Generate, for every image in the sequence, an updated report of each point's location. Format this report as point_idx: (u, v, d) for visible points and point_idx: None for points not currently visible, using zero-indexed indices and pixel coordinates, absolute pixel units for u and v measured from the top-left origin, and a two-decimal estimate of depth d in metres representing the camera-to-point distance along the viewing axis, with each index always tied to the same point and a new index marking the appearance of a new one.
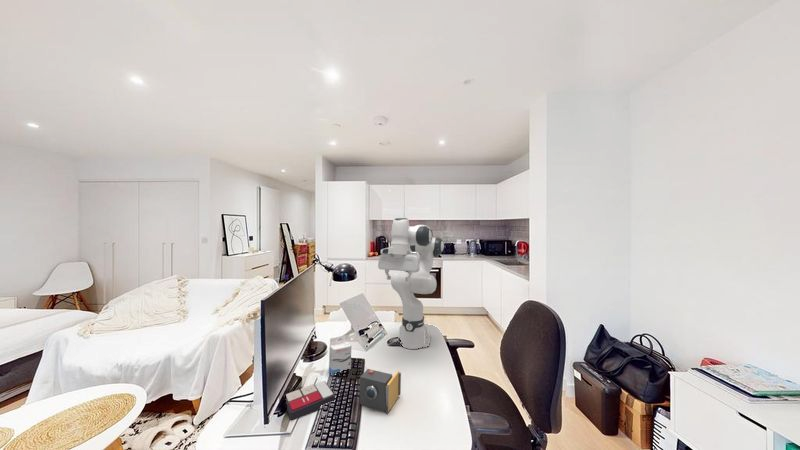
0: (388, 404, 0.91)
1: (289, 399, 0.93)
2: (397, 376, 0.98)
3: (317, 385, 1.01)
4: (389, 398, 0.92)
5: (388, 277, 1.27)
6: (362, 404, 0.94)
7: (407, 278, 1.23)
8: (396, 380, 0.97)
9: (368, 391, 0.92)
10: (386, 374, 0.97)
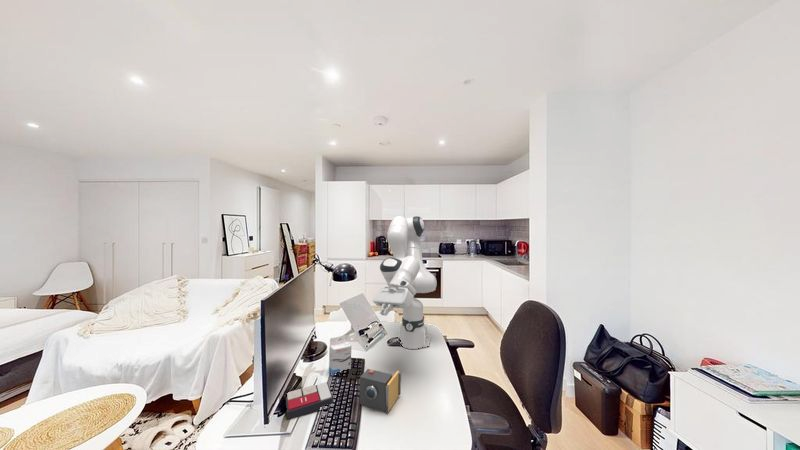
0: (388, 404, 0.91)
1: (289, 398, 0.93)
2: (397, 376, 0.98)
3: (319, 385, 1.00)
4: (389, 398, 0.92)
5: None
6: (362, 404, 0.94)
7: None
8: (396, 380, 0.97)
9: (368, 391, 0.92)
10: (386, 374, 0.97)
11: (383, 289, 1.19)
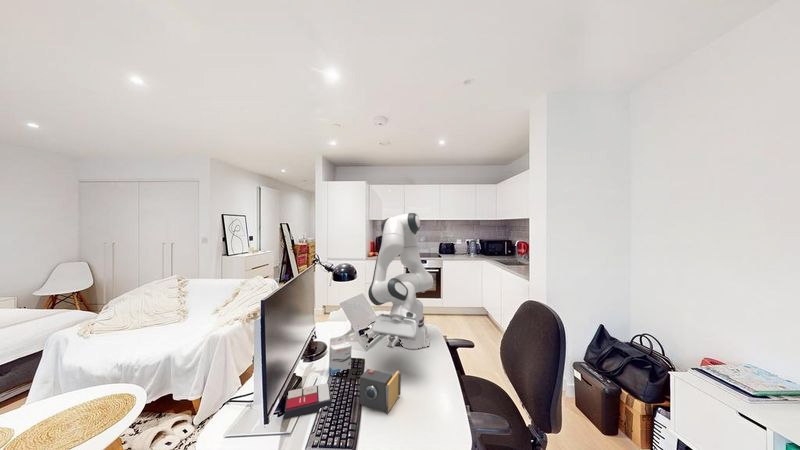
0: (388, 404, 0.91)
1: (289, 397, 0.94)
2: (397, 376, 0.98)
3: (320, 386, 1.00)
4: (389, 398, 0.92)
5: None
6: (362, 404, 0.94)
7: None
8: (396, 380, 0.97)
9: (368, 391, 0.92)
10: (386, 374, 0.97)
11: (382, 317, 1.18)
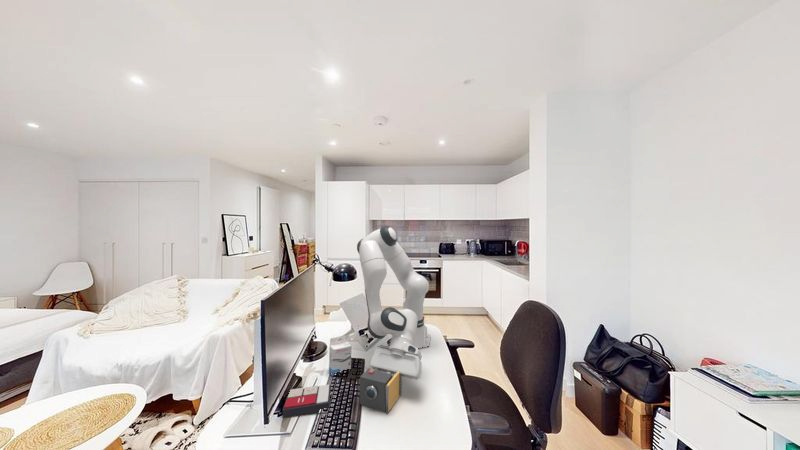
0: (388, 404, 0.91)
1: (289, 395, 0.95)
2: (398, 376, 0.98)
3: (321, 387, 0.99)
4: (389, 398, 0.92)
5: None
6: (362, 404, 0.94)
7: None
8: (396, 380, 0.97)
9: (368, 391, 0.92)
10: (386, 374, 0.97)
11: (381, 350, 1.07)
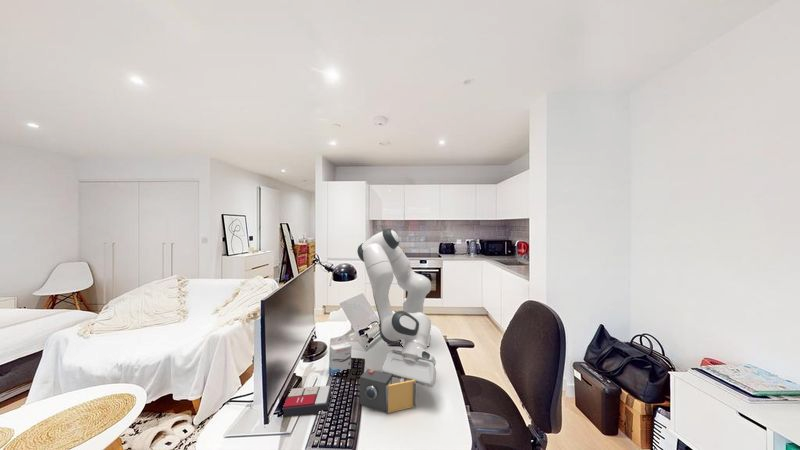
0: (388, 405, 0.90)
1: (289, 395, 0.95)
2: (410, 384, 0.93)
3: (321, 388, 0.99)
4: (390, 400, 0.91)
5: None
6: (362, 404, 0.94)
7: None
8: (407, 388, 0.93)
9: (368, 391, 0.92)
10: (386, 374, 0.97)
11: (393, 355, 1.03)
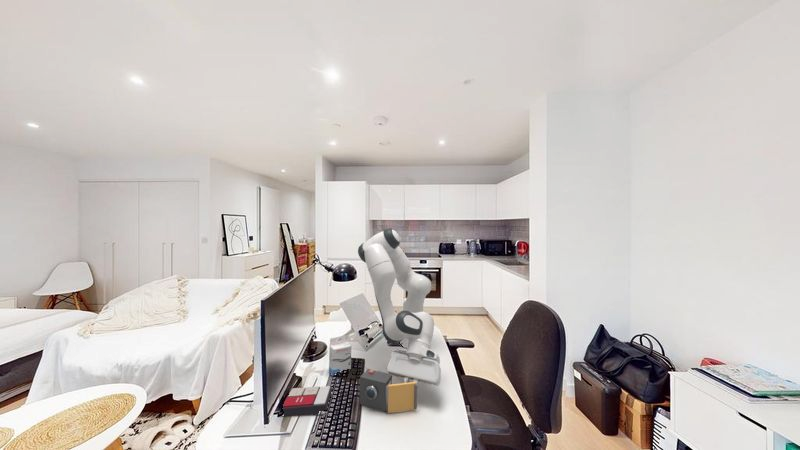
0: (388, 405, 0.90)
1: (289, 394, 0.95)
2: (411, 386, 0.92)
3: (321, 388, 0.98)
4: (390, 400, 0.90)
5: None
6: (362, 404, 0.94)
7: None
8: (408, 390, 0.92)
9: (368, 391, 0.92)
10: (386, 374, 0.97)
11: (398, 355, 1.03)
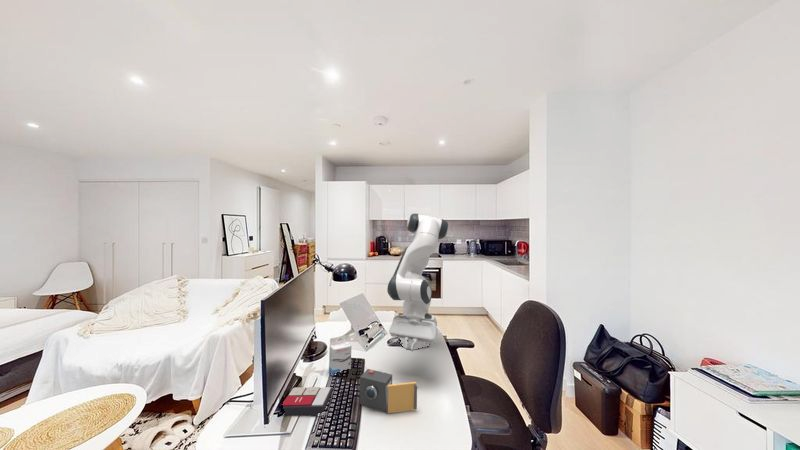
0: (388, 405, 0.90)
1: (290, 393, 0.96)
2: (411, 386, 0.92)
3: (322, 389, 0.98)
4: (390, 400, 0.90)
5: None
6: (362, 404, 0.94)
7: None
8: (408, 390, 0.92)
9: (368, 391, 0.92)
10: (386, 374, 0.97)
11: (399, 319, 1.14)
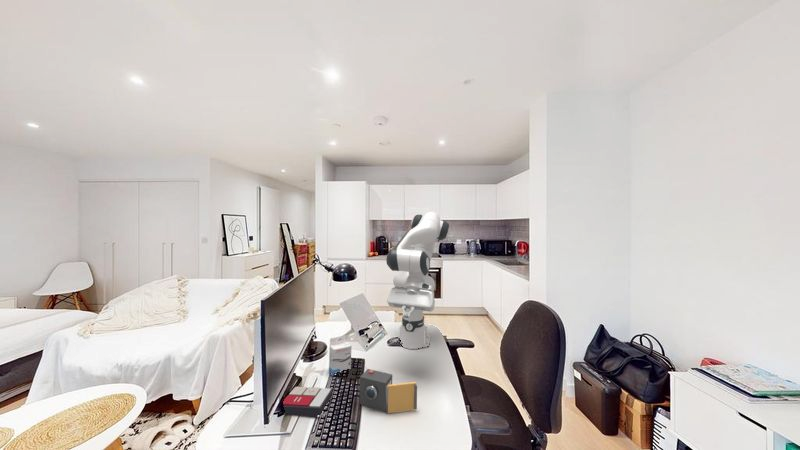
0: (388, 405, 0.90)
1: (291, 392, 0.96)
2: (411, 386, 0.92)
3: (322, 390, 0.97)
4: (390, 400, 0.90)
5: None
6: (362, 404, 0.94)
7: None
8: (408, 390, 0.92)
9: (368, 391, 0.92)
10: (386, 374, 0.97)
11: (397, 289, 1.16)
